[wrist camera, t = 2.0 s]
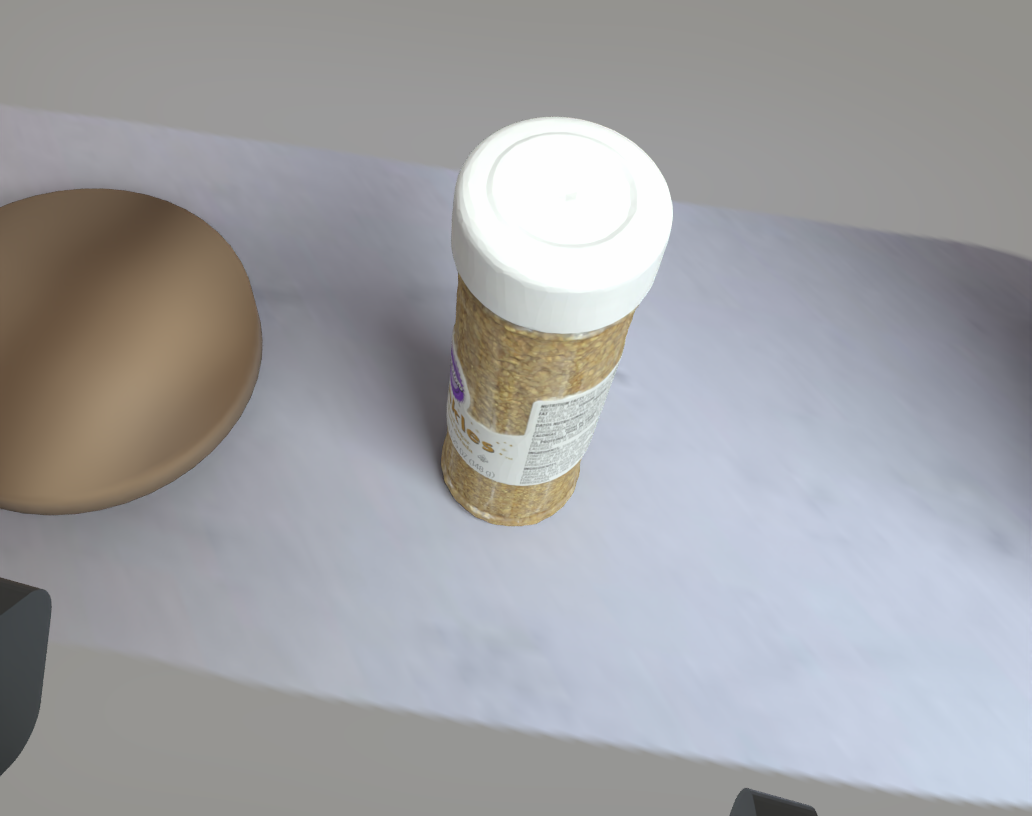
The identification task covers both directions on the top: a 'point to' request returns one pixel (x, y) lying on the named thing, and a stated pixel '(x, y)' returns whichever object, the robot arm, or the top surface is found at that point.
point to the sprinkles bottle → (543, 305)
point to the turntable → (115, 348)
